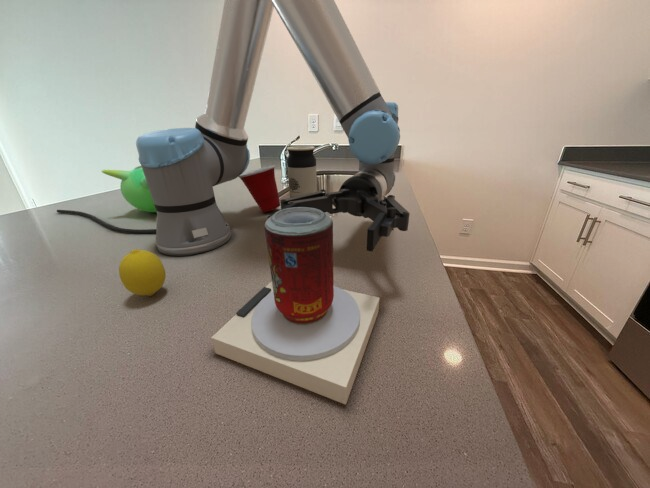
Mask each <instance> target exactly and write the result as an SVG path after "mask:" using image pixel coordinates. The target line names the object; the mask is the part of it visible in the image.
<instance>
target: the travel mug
mask: <svg viewBox="0 0 650 488" xmlns="http://www.w3.org/2000/svg"><path fill="white" fill-rule="evenodd" d="M315 149H316V147H315V146H312V145H295V146H294V145H293V146H288V147H286V150H287V153H288V156H287V158H286V159H287V160H286V166H287V167H286V168H287V178H288V189H289V190H288V191H289V198H291V197H296V196H300V195H305V194H309V193H313V192H316V191H318V178H317V177H318V176H317V158H316V157H315V155H314V151H315Z"/></svg>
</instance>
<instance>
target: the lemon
mask: <svg viewBox="0 0 650 488" xmlns="http://www.w3.org/2000/svg"><path fill="white" fill-rule="evenodd" d="M118 273H119V275H118V276H119V279H120V281H121V283H122V285H123V286H124V288H125V289H126V290H127V291H128V292H130V293H131V294H134V295H137V296H150V297H151V296H153V295H155V294H156V292H158V291H159V290H160V289H161V288H162V287H163V285H164V284H165V281H166V276H167V275H166V270H165V266H164V264H163V262H162V260H161V259H160V258H159V256H158V255H156V254H155V253H154V252H151V251H148V250H145V249H137V248H134V249H132V250H131V251H130V252H128V253H127V254H126V255H125V256H124V257H123V258H121V261H120V263H119V265H118Z"/></svg>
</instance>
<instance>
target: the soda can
mask: <svg viewBox="0 0 650 488" xmlns="http://www.w3.org/2000/svg"><path fill="white" fill-rule="evenodd" d="M279 210H280V209H279ZM279 210H277V211H278V212H277V211H275V212H276V213H275V212H274V213H275V214H274V215H272V216H271V217H270V218H268V217H267V219H266V221H265V223H264V233H265V240H266V246H267V247H266V248H267V256H268V262H269V268H270V276H271V277H270V278H271V281H272V285H273V292H274V300H275V304H276V307H277V309H278V310H279V311H280V312H281V313H282V314H283V317H284V318H285V319H286V320H287V321H288V322H290V323H292V324H296V325H310V324H314V323H316V322H318V321H320V320H322V319H323V318H324V317H325V316H326V314H327V312H328V309H329V308H330V306H331V304H332V302H333V297H334V286H335V285H334V222H333V219H332V218H331V216H330V214H329V213H327V212H322V211H321V210H319V209H316V208H309V207H292V208H286V209H283V210H280V211H279Z"/></svg>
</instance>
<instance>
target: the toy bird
mask: <svg viewBox="0 0 650 488" xmlns="http://www.w3.org/2000/svg"><path fill="white" fill-rule="evenodd" d="M101 173H102V174H105V175H107V176H110V177H112V178H115V179H119V180H121V181H120V187H119V188H120V192H121V195H122V197H123V198H124V199H125V201H126V202H127V203H128V204H129V205H131V206H132V207H134V208H136V209H137V210H140V211H142V212H143V211H144V212H147V213H157V212H156V208H155V205H154V202H153V199H152V196H151V193H150V190H149V187H148V184H147V181H146V178H145V175H144V172H143V169H142V166H141V165H139V166H136V167H134V168H131V169H130V170H121V169H102V170H101Z"/></svg>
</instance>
